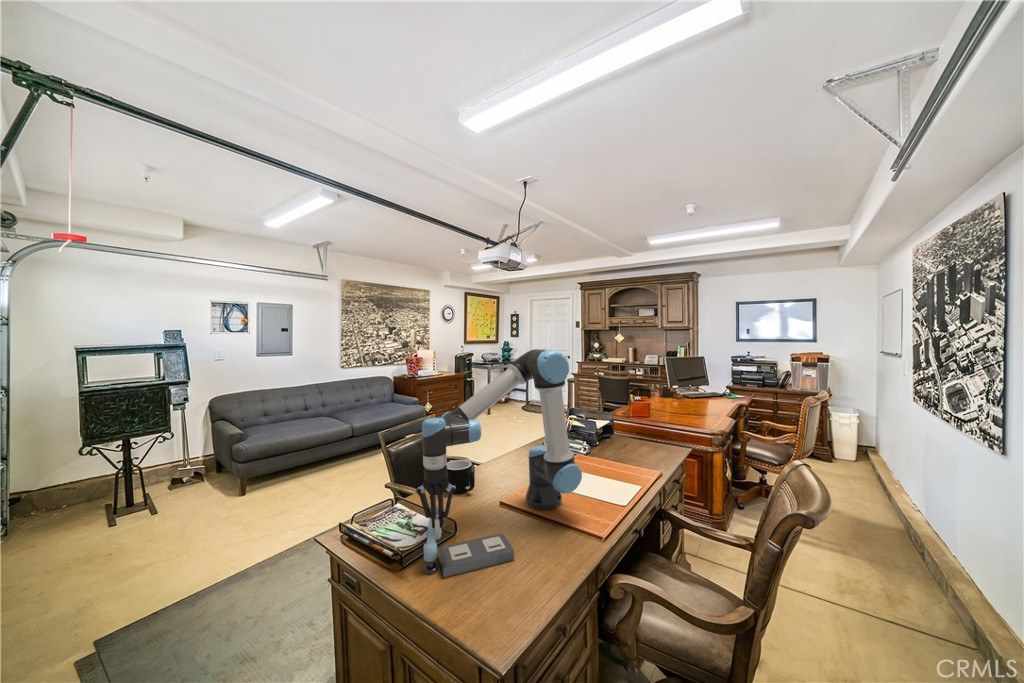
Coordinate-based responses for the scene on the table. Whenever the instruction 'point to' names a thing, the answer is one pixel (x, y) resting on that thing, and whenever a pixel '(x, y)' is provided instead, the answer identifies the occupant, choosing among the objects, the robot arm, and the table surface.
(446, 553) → the block
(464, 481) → the black pot
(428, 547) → the hole punch handle
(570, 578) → the table surface
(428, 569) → the black short cylinder
